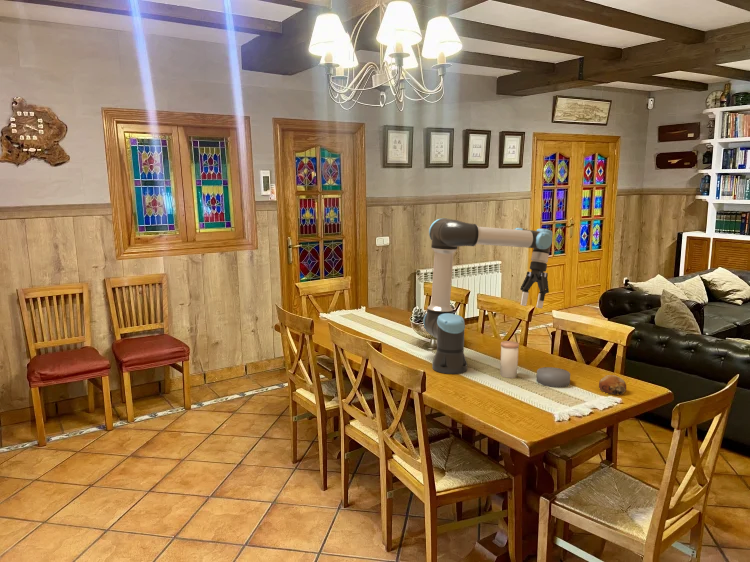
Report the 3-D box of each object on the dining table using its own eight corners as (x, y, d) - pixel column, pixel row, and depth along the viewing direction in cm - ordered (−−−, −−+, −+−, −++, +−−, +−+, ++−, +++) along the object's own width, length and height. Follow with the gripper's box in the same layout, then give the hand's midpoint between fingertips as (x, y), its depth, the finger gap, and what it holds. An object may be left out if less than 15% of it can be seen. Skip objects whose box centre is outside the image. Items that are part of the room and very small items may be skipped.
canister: (504, 378, 229) (506, 346, 227) (496, 373, 236) (498, 341, 234) (520, 377, 231) (522, 345, 229) (512, 372, 238) (513, 340, 235)
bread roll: (625, 399, 217) (627, 378, 219) (626, 396, 208) (627, 375, 210) (598, 395, 221) (600, 375, 223) (597, 392, 212) (599, 371, 214)
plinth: (547, 388, 218) (547, 378, 217) (530, 377, 230) (531, 368, 230) (576, 385, 221) (577, 376, 220) (558, 375, 234) (558, 366, 233)
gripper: (562, 263, 248) (553, 310, 247) (531, 263, 272) (523, 305, 271) (547, 260, 245) (539, 307, 245) (518, 260, 269) (510, 303, 269)
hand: (531, 306), depth 258 cm, fingers open, 13 cm apart
